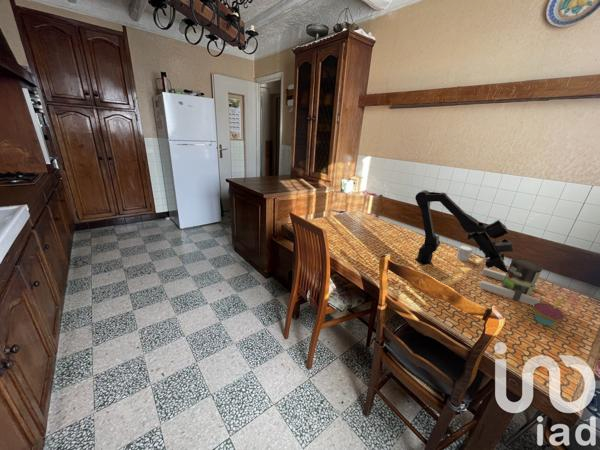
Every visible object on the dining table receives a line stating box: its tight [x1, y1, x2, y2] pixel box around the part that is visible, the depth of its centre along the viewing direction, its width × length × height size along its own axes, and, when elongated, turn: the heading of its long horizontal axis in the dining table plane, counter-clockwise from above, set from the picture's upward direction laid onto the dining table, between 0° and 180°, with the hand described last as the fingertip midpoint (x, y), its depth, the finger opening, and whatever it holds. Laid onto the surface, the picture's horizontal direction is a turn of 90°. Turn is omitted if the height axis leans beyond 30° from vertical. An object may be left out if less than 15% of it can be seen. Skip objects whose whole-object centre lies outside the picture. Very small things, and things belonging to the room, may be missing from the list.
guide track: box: [478, 267, 541, 306], centre depth 112 cm, size 20×18×4 cm
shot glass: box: [456, 244, 474, 262], centre depth 137 cm, size 7×7×7 cm
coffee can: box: [501, 257, 544, 296], centre depth 108 cm, size 10×10×14 cm
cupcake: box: [531, 296, 565, 327], centre depth 90 cm, size 9×8×12 cm
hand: (506, 271), depth 111 cm, fingers closed
